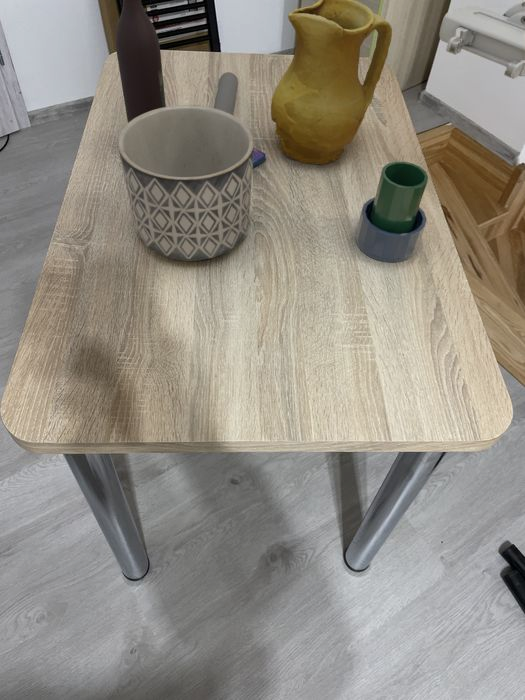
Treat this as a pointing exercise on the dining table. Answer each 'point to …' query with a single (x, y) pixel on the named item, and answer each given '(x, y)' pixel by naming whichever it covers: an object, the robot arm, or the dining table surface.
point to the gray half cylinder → (226, 93)
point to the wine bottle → (139, 61)
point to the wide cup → (388, 237)
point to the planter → (188, 180)
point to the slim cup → (398, 197)
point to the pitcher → (327, 79)
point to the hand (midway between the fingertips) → (480, 59)
